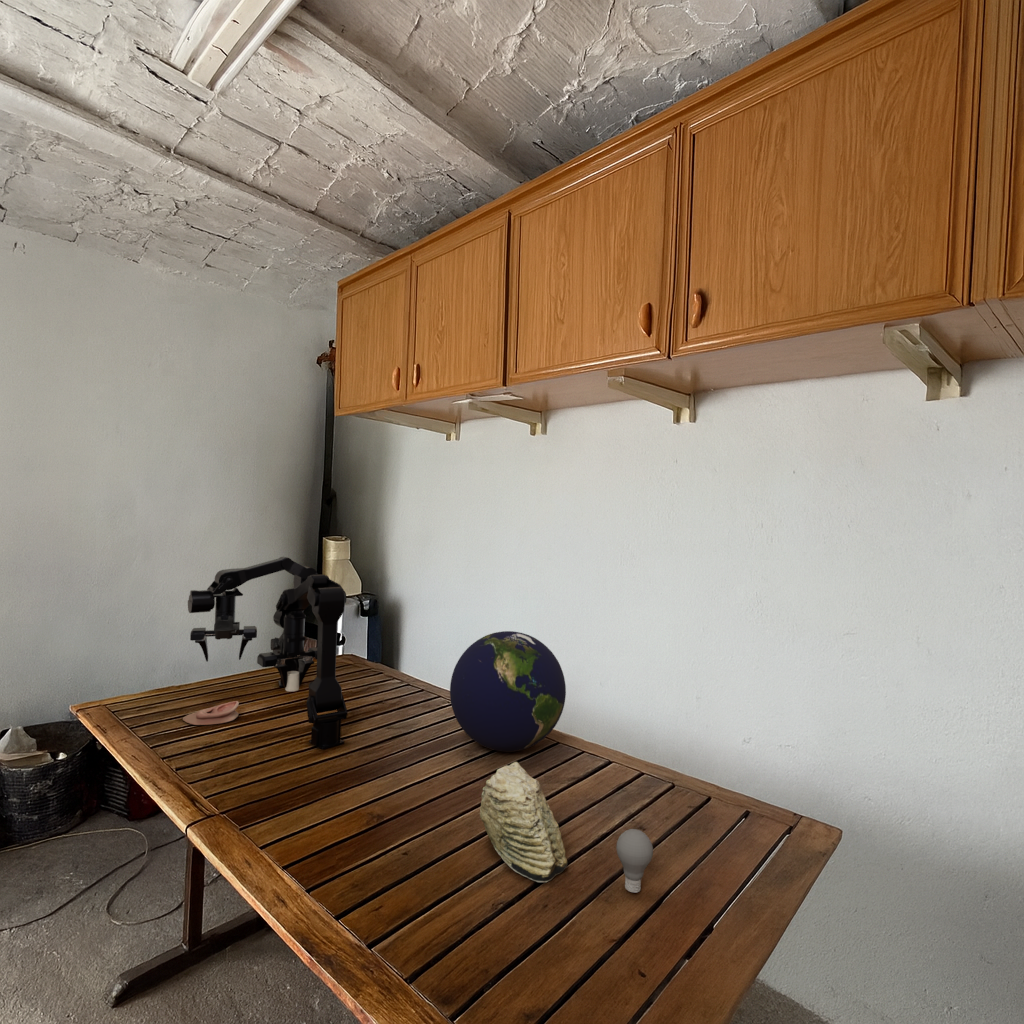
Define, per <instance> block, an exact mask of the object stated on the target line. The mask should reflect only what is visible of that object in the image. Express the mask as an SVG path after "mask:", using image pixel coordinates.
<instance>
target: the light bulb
mask: <svg viewBox="0 0 1024 1024" xmlns="http://www.w3.org/2000/svg"><path fill="white" fill-rule="evenodd" d="M615 849H616V854H617V857H618V859H619V861H620V863H621V865H622V867H623V873H624V874H623V875H624V876H625V878H624V888H625V890H627V891H628V892H630V893H634V894H635V893H639V892H640V891H641V889H642V887H641V886H642V879H643V877H644V875H645V871H646V868H647V867H648V866H649V864H650V863H651V861H652V859H653V855H654V847H653V843H652V841H651V838H649V836H648V835H647V834H646V833H645V832H643V831H642V830H641V829H636V828H629V829H627V830H625V831H623V832H622V833H621V834H620V835H619V837H618V839H617V841H616V847H615Z"/></svg>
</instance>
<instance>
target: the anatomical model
mask: <svg viewBox="0 0 1024 1024" xmlns="http://www.w3.org/2000/svg"><path fill="white" fill-rule="evenodd" d="M239 705H240V702H239V701H238V700H235V701H229V702H225V703H222V704H218V705H214V706H211V707H208V708H204V709H203V708H202V709H200V710H198V711H195V712H193V713H189V714H187V715H185V716H183V718H182V721H184V722H185V723H187V724H190V725H195V726H207V725H217V724H218V725H219V724H224V723H229V722H232V721H234V720H235V719H237V718H238V716H239V712H238V711H236V710H237V709H238V707H239Z"/></svg>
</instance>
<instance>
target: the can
mask: <svg viewBox="0 0 1024 1024" xmlns="http://www.w3.org/2000/svg"><path fill="white" fill-rule="evenodd" d="M299 690H300V686H299V672H298V671H289V672H287V686H286V688H285V687H284V691H285V692H290V693H291V692H297V691H299Z"/></svg>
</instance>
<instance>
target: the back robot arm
mask: <svg viewBox="0 0 1024 1024" xmlns="http://www.w3.org/2000/svg"><path fill="white" fill-rule="evenodd" d="M283 571H285V572H287V573H289V574H291V575H292V576H293V588H296V587H298V586H299V585H300V584H301V583H303V582H304V581H305V580H307V577H308V576H310V575H319V573H318V571H317V570H316V569H315V568H313V567H310V566H307V565H301V564H300V563H298V562H296V561H294V560H292V559H291V558H290V557H287V556H280V557H279V558H275V559H272V560H269V561H268V560H267V561H265V562H261V563H260V562H259V563H257V564H254V565H250V566H247V567H238V568H226V569H221V570H219V571H217V572H216V573H215V576H214V580H213V581H212V583H210V585H209V586H208V587H207V589H205V590H197V589H191V590H190V591H189V595H188V599H187V610H188V613H189V614H197V613H210V612H211V611H212V610H214V609H215V610H214V623H213V629H211V630H209V629H208V630H207V628H206V627H193V628H191V631H190V636H189V637H190V638H189V639H190V641H194V643H195V644H199V646H200V648H201V649H202V652H203V655H204V658H205V662H209V649H208V638H209V637H214V639H215V640H225V639H226V640H231V639H233V638H234V637H236V636H241V640H240V641H241V642H240V646H239V653H238V661H240V660H241V659H242V656H243V653H244V651H245V649H246V647H247V644H248V643H249V642H250V641H253V639H257V637H258V627H257V626H256V625H243V628H240V622H241V621H236V605H237V604H236V603H237V602H236V601H237V600H236V598H237V597H242V596H244V593H242V592H241V591H240V590H239V587H241V586H242V585H244V584H245V583H248V582H249V581H251V580H254V579H258V578H261V577H264V576H268V575H271V574H275V573H279V572H283ZM302 611H303V612H304V611H305V610H302ZM282 635H284V629H283V631H282V634H281V635H280V636H279V637H274V639H275V638H278V639H279V641H281V640H282ZM272 653H274V654H275V655H281V654H283V653H277V650H272ZM290 657H291V656H290ZM285 665H287V672H289V671H298V672H299V661H298V659H295V660H287V661H285ZM278 686H279V687H280V688H285V687H284V686H283V683H282V680H281V677H280V679H279V680H278Z"/></svg>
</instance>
